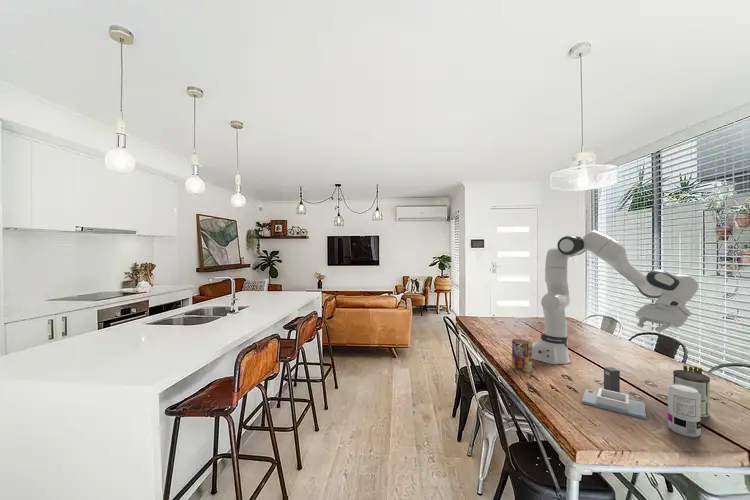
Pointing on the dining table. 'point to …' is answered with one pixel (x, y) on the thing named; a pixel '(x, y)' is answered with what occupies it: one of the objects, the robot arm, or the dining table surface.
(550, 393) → the dining table surface
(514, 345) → the candy box
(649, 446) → the dining table surface
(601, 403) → the socket base
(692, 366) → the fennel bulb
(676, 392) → the supplement can
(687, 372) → the coffee can
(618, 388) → the plug
